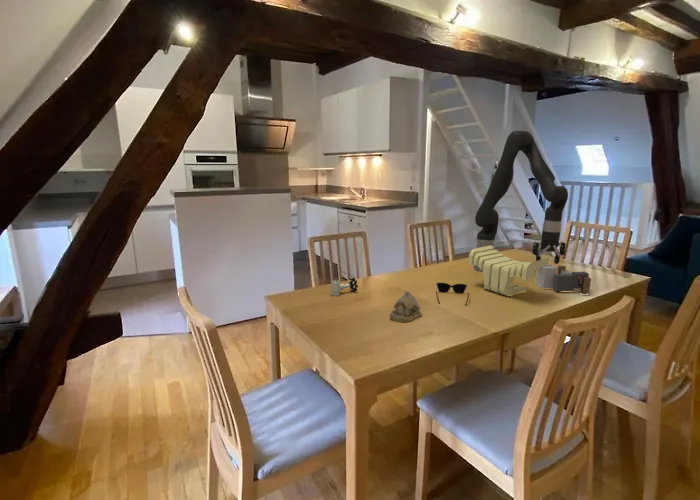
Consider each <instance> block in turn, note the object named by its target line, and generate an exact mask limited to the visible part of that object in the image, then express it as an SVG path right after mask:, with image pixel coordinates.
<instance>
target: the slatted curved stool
mask: <svg viewBox="0 0 700 500" xmlns="http://www.w3.org/2000/svg"><path fill="white" fill-rule="evenodd" d="M547 264H550V257H548V258H543V259H542V258H541V260H538V261H536V260H535V261H519V260H515V259H512V258H511V257H508V256H506V255H504V254H503V253H502V252H500V251H499V250H498V249H495V246H494V247H493V246H485V247H480V248H476V247H475V248H473V249H472V250H471V251H470V252H469V255H468V266H469V265H470V266H474V265H475V266H478V267H479V268H480V269H481V270H482V269H483V271H482V276H483V288H484V289H485V290H487V291H491V292H493V291H494V293H496V294H500V293H501V294H500V295H503V296H507V297H509V295H513V294H516V293H519V292H522V291H525V290H527V287H526V286H523V285H520V284H517V283H513V280H514V279H515V277H517V278H519V279H520V278H521V279H522V280H524V281H529V280H532V279H533V275H534V273H535V272H536V271H537V269H538V268H539V267H542V266H544V265H547ZM527 291H528V290H527Z"/></svg>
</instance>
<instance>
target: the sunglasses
mask: <svg viewBox="0 0 700 500" xmlns="http://www.w3.org/2000/svg"><path fill="white" fill-rule="evenodd" d="M435 285H436V286H435V294H436V298H437V302H438V304H439V305H441V303H440V300H439V296H438V292H439V293H448V292H449V291H450V289H451V288H452V290H453V292H454V293H455V294H464V293H465V291H466V289H467V298H466V300H465V305H464V307H467V303H468V300H469V298H470V297H469V296H470V295H469V294H470V293H469V288H468V284H465V283H456V284H453V285H451V284H449V283H446V282H436V283H435ZM437 289H438V290H437Z"/></svg>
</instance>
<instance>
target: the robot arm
mask: <svg viewBox="0 0 700 500" xmlns="http://www.w3.org/2000/svg"><path fill="white" fill-rule="evenodd" d="M502 150H503V151H502V154H501V156H500V159H499V162H498V163H497V164H498V165H497V167H496V168H495V169H496V170H495V172H494V174H493V176H492V179H491V181H490V184H489V186H488V189H487V191H486V192H485V193H486V194H485V196H484V198H483V200H482V203H481V204H480V206H479V207H478V210H477V212H476V214H475V216H474V220H475V224H476V226H478V227H480V228H481V230H480V231H479V232H478V233H477V234H476V244H475V248H480V247H485V246H493V247H494V248H495V239H496V236H497V233H498V228H499V227H498V226H499V213H498V212H497V210H496V209H495V207H496V205H497V204H498V203H499V201H500V200H501V199H502V198H503V197H504V196H505V194H507V192H508V191H509V189H510V187H511V185H512V182H513V179H514V165H515V164H514V163H515V160H516V158H517V157H518V156H517V155H518V153H519V152H522V153H523V154H524V155H525V156H526V159H528V162H529V167H530V170H531V173H532V175H533V177H534V178H535V180H536V181H537V183H538V184H539V187H540V190H541V192H542V195H543V197H544V199H545V200H546V201H547V202H549V203H550V205H549V206H548V207H547V208H546V209H545V213H544V220H543V224H542V231H541V241H540V242H537V241H534V242H533V247H532V253H531V254H532V255H534V256H535V261H538V260H542V255H543V254H545V253H546V252H547V253H549V252H552V253H554V259H553V260H554V261H553V263H554V264H556V265H558V264H559V263H560V259H561V256H564V255H565V254H566V245H567V244H566V242H564V241H560V239H561V238H560V237H561V231H562V218H563V212H564V209H565V207H566V205H567V201H568V199H569V191H568V189H567V188H566V187H565V186H562V185H557V186H556V184H555V180H556V176H555V174H554V173H553V172H552V170H551V168H550V167H549V166H548V165H547V163H546V161H545V160H544V158H543V156H542V153H541V151H540V149H539V147H538V145H537V143H536V141H535V139H534V136H533V135H532V133H531V132H529V131H526V130H513V131H512V132H510V133H509V135H508V136H507V138H506V141H505V143H504V147H503V149H502ZM558 247H559V249H558ZM473 269H474V270H475V271H477V272H483V269H482V270H481V269H480V268H479V267H478V266H475V265H473Z"/></svg>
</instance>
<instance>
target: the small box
mask: <svg viewBox="0 0 700 500" xmlns="http://www.w3.org/2000/svg"><path fill="white" fill-rule="evenodd" d="M557 271H558V267H556V266H553V265H552V264H550V263H549V264H547V265H544V266H542V267H539V268H538V269H536V271H535V272H536V273H535V283H536V284H537V285H539V286H540V287H542V288H553V283H554V275H555V274H557ZM536 284H535V285H536ZM537 285H536V286H537ZM539 286H538V287H539ZM540 287H539V288H540ZM542 288H541V289H542Z"/></svg>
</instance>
